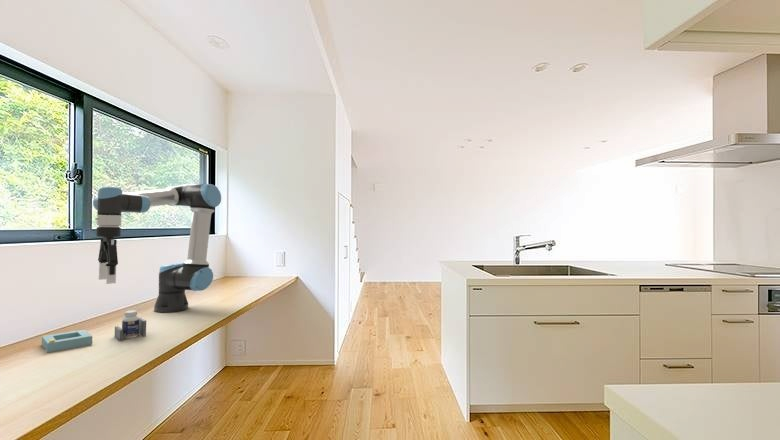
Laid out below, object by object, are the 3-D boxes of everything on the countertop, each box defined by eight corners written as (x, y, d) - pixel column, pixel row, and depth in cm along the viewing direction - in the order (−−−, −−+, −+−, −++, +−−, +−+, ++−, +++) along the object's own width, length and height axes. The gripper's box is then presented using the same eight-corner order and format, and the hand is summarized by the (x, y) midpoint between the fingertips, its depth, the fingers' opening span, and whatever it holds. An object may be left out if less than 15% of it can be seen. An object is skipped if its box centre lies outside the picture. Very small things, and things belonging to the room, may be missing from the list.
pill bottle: (127, 339, 141) (127, 313, 141) (118, 337, 143) (119, 312, 144) (141, 335, 146) (142, 310, 146) (133, 333, 148) (134, 309, 148)
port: (84, 337, 143) (84, 327, 143) (92, 344, 135) (92, 334, 135) (41, 344, 134) (42, 334, 134) (47, 352, 126) (47, 341, 126)
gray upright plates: (139, 332, 150) (140, 317, 150) (145, 336, 146) (146, 320, 146) (114, 337, 144) (114, 321, 144) (119, 341, 139) (120, 324, 139)
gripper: (90, 225, 151) (88, 278, 150) (104, 226, 134) (101, 286, 134) (113, 226, 156) (111, 277, 156) (128, 227, 140) (126, 284, 139)
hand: (106, 281), depth 145 cm, fingers open, 13 cm apart
